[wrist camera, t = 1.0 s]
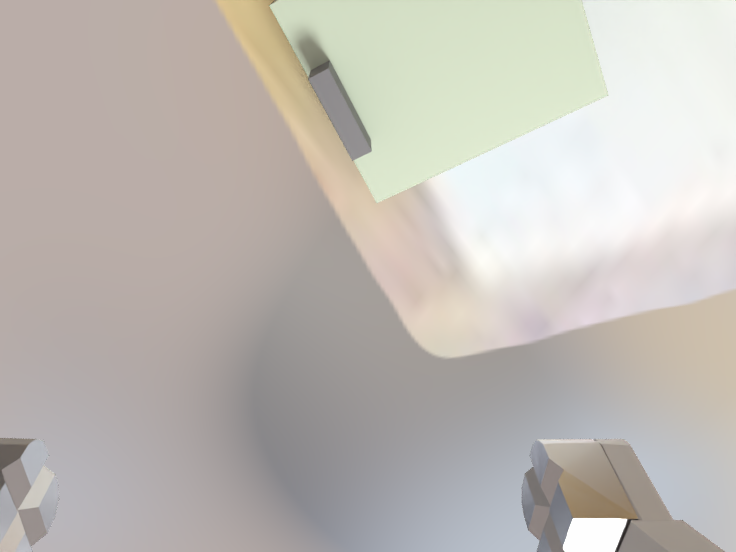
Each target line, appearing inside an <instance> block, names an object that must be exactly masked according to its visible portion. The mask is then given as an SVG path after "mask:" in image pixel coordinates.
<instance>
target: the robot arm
mask: <svg viewBox="0 0 736 552" xmlns="http://www.w3.org/2000/svg"><path fill="white" fill-rule="evenodd" d="M48 456H49V454H48V451H47V449H46V446H45V443H44V441H42V440H38V439H16V438H14V439H13V438H0V552H33V551H32V547H31V546H32V545H34V544H35V543H36V542H37V541H38V540H40V539H41V538H42V537H44V536H45V535H46V534H47V533H48V531H49V529H50V527H51V525H52V523H53V520H54V518H55V515H56V510H57V506H58V501H59V487H58V486H59V485H58V482H57V478H56V475H55V474H54V473H53V472H52V471H50V470H49V469H47V468H46V467H45V466H44V464H45V462H46V460H47V458H48ZM530 458H531V461H532V464H533V467H532V468H531V469H530V470H529V471H527V472H526V473H525V475H524V479H523V484H522V508H523V513H524V518H525V521H526V524H527V528H528V530H529V531H530V532H531V533H532V534H533V535H534V536H535V537H536V538H537V539H539V541H540V542H539V545H538V548H537V552H725V551H723V550H722V549H720V548H719V547H718V546H717V545H715V544H714V543H712V542H711V541H710V540H708V539H707V538H706V537H705V536H703V535H702V534H700V533H699V532H698V531H696V530H695V529H694V528H692V527H691V526H690V525H688V524H687V523H686V522H684V521H683V520H673V518H672V516H671V515H670V513H669V511H668V510H667V508H666V506H665V504H664V503H663V501H662V499H661V497H660V496H659V494H658V492H657V491H656V489H655V487H654V485H653V484H652V482H651V480H650V478H649V477H648V475H647V473H646V472H645V470H644V468H643V466H642V465H641V463H640V461H639V460H638V458H637V456H636V454H635V453H634V451H633V449H632V447H631V446H630V444H629V443H628V442H627V441H625V440H624V439H594V440H592V439H546V440H545V439H543V440H536V441H535V442H534V444H533V445H532V449H531V452H530Z"/></svg>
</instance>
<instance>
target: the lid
mask: <svg viewBox="0 0 736 552" xmlns="http://www.w3.org/2000/svg"><path fill="white" fill-rule="evenodd" d="M269 6H270V8H271V10H272V12H273V13H274V15H275V17H276V19H277V21H278V23H279V24H280V26H281V28H282V30H283V32H284V34H285V35H286V37H287V39H288V41H289V43H290V45H291V46H292V48H293V50H294V52H295V54H296V56H297V57H298V59H299V61H300V63H301V65H302V67H303V69H304V70H305V72H306V74H307V76H308V80H309V82H310V84H311V86H312V87H313V89H314V91H315V93H316V95H317V97H318V98H319V100H320V102H321V104H322V106H323V108H324V109H325V111H326V113H327V115H328V117H329V119H330V120H331V122H332V124H333V126H334V128H335V130H336V131H337V133H338V135H339V137H340V139H341V141H342V142H343V144H344V146H345V148H346V150H347V152H348V153H349V155H350V157H351V159H352V161H353V160H354V162H355V164H356V166H357V168H358V170H359V171H360V173H361V175H362V177H363V179H364V181H365V182H366V184H367V186H368V188H369V190H370V192H371V193H372V195H373V197H374V199H375V201H376V203H379V202H381V201H383V200H385V199H387V198H389V197H391V196H394V195H396V194H398V193H400V192H402V191H404V190H406V189H409V188H411V187H413V186H415V185H417V184H419V183H421V182H424V181H426V180H428V179H430V178H432V177H434V176H436V175H439V174H441V173H443V172H445V171H447V170H449V169H451V168H454V167H456V166H458V165H460V164H462V163H464V162H466V161H469V160H471V159H473V158H475V157H477V156H479V155H481V154H484V153H486V152H488V151H490V150H492V149H494V148H497V147H499V146H501V145H503V144H505V143H507V142H509V141H512V140H514V139H516V138H518V137H520V136H522V135H524V134H527V133H529V132H531V131H533V130H535V129H537V128H539V127H542V126H544V125H546V124H548V123H550V122H552V121H554V120H557V119H559V118H561V117H563V116H565V115H567V114H569V113H572V112H574V111H576V110H578V109H580V108H582V107H584V106H587V105H589V104H591V103H593V102H595V101H597V100H599V99H602V98H604V97H606V96H608V92H607V88H606V85H605V81H604V78H603V74H602V71H601V67H600V64H599V60H598V56H597V53H596V49H595V46H594V42H593V39H592V35H591V32H590V28H589V25H588V21H587V18H586V14H585V10H584V7H583V3H582V0H277V1H275V2H273V3H272V4H270V5H269Z"/></svg>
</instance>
